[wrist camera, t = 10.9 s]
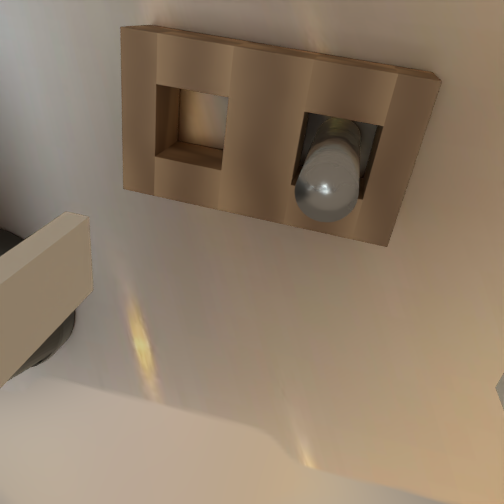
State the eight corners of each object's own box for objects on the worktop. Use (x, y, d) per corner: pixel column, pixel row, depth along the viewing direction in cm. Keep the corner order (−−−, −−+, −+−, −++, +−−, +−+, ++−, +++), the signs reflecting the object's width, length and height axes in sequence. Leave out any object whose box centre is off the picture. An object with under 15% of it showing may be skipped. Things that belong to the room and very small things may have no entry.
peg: (311, 157, 30) (289, 215, 22) (320, 113, 29) (300, 156, 20) (354, 165, 30) (350, 227, 21) (365, 121, 28) (365, 169, 20)
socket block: (148, 170, 34) (123, 189, 30) (149, 24, 29) (120, 26, 25) (384, 221, 31) (387, 246, 28) (432, 72, 26) (442, 81, 23)
